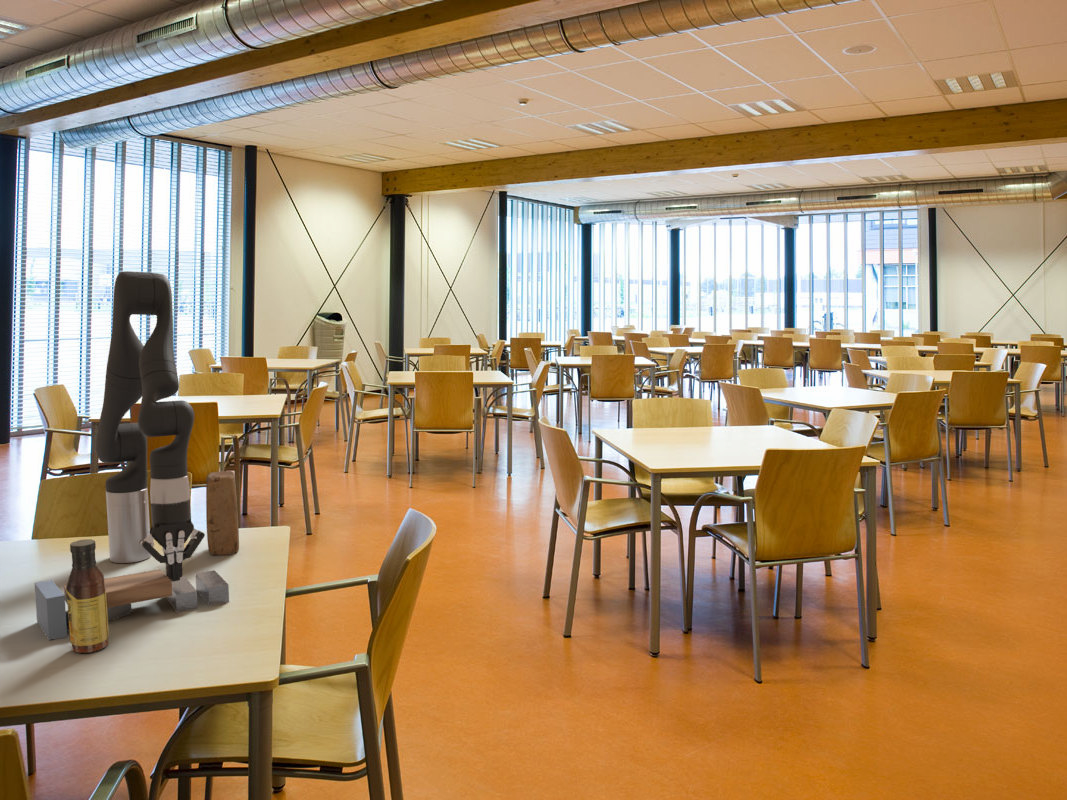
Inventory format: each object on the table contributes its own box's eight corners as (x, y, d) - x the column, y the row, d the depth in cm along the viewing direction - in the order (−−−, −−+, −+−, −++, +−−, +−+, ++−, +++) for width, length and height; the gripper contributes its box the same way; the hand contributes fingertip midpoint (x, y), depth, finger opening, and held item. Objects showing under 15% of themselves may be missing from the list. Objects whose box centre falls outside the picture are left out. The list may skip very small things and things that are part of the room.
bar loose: (117, 611, 179) (116, 593, 179) (131, 614, 178) (130, 595, 177) (64, 631, 168) (63, 612, 168) (79, 634, 167) (77, 615, 166)
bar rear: (196, 591, 191) (195, 573, 191) (215, 587, 194) (214, 570, 193) (209, 606, 181) (208, 587, 181) (229, 603, 184) (228, 584, 183)
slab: (64, 599, 175) (63, 585, 175) (160, 583, 185) (159, 569, 185) (72, 614, 167) (71, 598, 166) (172, 595, 177) (171, 581, 177)
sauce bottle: (79, 642, 162) (73, 536, 160) (115, 641, 162) (108, 535, 160) (64, 656, 155) (56, 546, 153) (100, 655, 156) (94, 545, 154)
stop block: (37, 622, 172) (34, 582, 171) (54, 618, 174) (51, 579, 173) (49, 640, 163) (46, 598, 162) (67, 636, 165) (64, 595, 164)
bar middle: (165, 597, 187) (164, 579, 187) (185, 593, 190) (184, 575, 189) (176, 613, 177) (175, 594, 177) (197, 609, 180) (196, 590, 179)
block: (239, 555, 218) (236, 475, 216) (207, 558, 215) (203, 477, 213) (239, 544, 228) (235, 468, 226) (208, 546, 225) (204, 470, 223)
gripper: (197, 490, 187) (201, 569, 189) (131, 499, 179) (135, 582, 181) (209, 496, 181) (213, 578, 183) (141, 506, 173) (146, 591, 175)
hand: (174, 580), depth 182 cm, fingers closed
